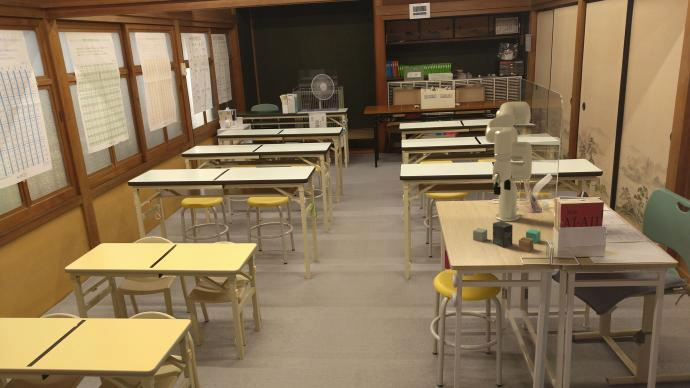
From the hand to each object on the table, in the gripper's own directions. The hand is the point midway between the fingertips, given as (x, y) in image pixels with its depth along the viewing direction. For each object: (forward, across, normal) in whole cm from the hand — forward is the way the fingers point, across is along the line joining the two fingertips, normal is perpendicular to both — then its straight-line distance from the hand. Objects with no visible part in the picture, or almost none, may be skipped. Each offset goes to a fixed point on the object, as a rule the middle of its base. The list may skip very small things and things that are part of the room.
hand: (502, 192), depth 251 cm
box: (+26, 0, 0) cm, 27 cm away
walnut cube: (+26, 0, +12) cm, 29 cm away
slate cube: (+26, 0, -12) cm, 29 cm away
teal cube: (+26, -12, +10) cm, 31 cm away
